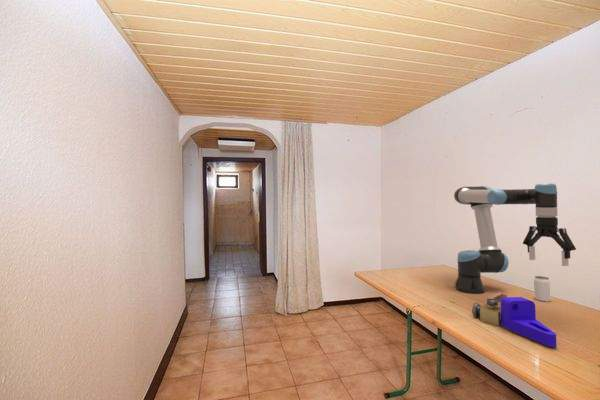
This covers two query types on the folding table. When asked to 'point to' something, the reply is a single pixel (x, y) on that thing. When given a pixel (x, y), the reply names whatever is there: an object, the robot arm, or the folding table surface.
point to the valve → (487, 313)
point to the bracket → (525, 320)
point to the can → (542, 288)
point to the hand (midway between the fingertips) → (547, 262)
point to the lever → (495, 300)
